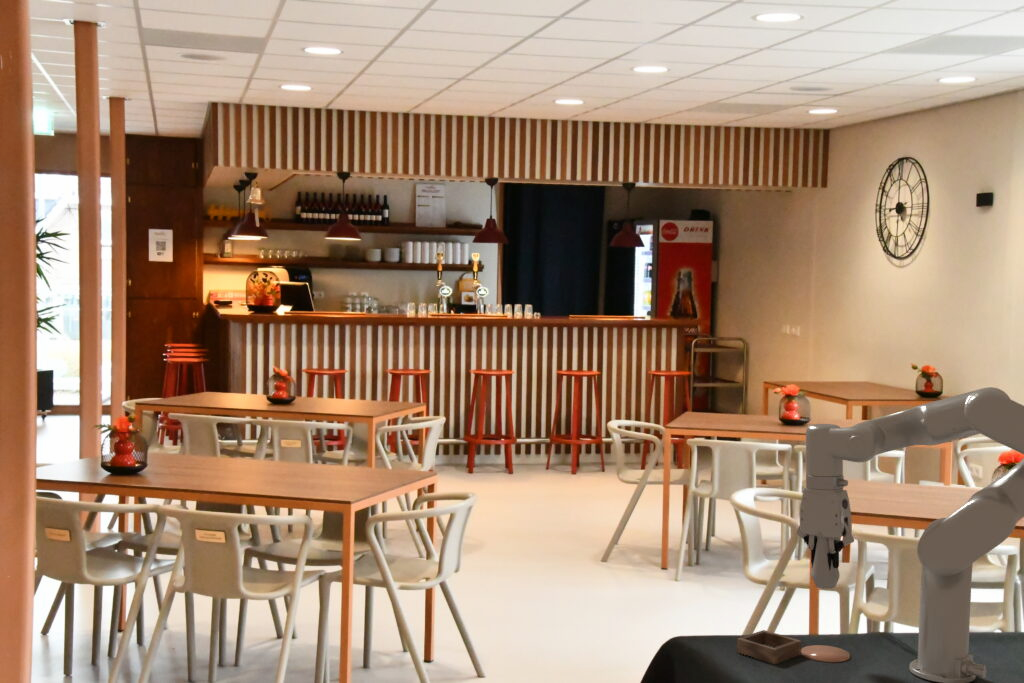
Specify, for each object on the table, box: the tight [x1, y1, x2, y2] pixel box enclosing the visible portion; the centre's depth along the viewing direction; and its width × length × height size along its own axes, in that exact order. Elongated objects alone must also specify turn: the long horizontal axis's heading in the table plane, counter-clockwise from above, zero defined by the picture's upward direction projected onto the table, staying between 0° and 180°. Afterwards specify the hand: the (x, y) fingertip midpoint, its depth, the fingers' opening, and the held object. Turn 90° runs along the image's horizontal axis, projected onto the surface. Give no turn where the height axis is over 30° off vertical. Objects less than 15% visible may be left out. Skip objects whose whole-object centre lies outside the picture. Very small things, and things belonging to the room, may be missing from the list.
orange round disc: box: [801, 644, 851, 663], centre depth 241 cm, size 10×10×1 cm
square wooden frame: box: [736, 629, 802, 665], centre depth 241 cm, size 10×10×3 cm
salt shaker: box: [810, 531, 841, 589], centre depth 240 cm, size 6×6×13 cm
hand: (825, 568), depth 240 cm, fingers closed on salt shaker, 3 cm apart
